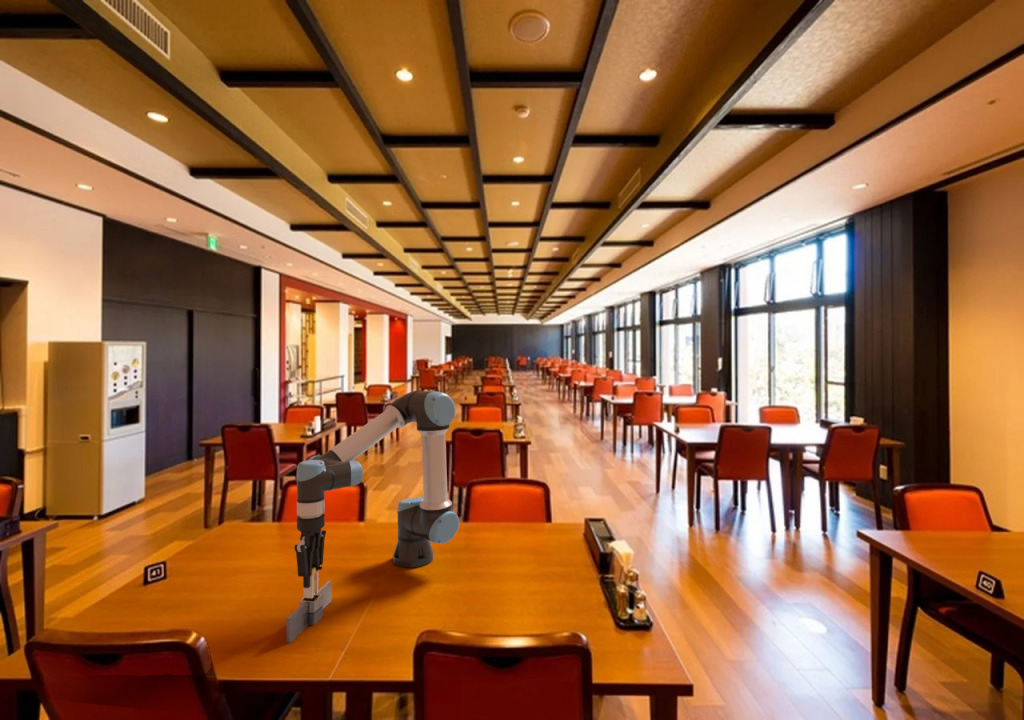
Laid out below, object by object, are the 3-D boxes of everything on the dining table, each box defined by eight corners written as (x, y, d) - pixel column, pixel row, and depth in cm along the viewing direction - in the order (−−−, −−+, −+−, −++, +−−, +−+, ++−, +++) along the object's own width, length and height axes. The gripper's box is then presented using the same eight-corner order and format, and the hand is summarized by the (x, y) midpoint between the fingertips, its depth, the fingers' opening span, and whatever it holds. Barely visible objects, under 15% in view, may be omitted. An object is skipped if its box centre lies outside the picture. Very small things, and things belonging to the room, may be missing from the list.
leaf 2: (308, 615, 145) (308, 593, 145) (322, 616, 145) (322, 594, 145) (280, 642, 132) (280, 617, 132) (296, 643, 131) (296, 619, 131)
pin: (309, 603, 144) (309, 566, 144) (317, 604, 144) (317, 566, 144) (304, 608, 141) (304, 570, 142) (312, 608, 141) (312, 570, 141)
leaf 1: (323, 600, 154) (323, 580, 154) (337, 601, 153) (336, 581, 153) (299, 623, 141) (299, 601, 141) (314, 624, 140) (314, 602, 140)
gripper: (312, 506, 151) (312, 582, 151) (283, 522, 136) (283, 607, 136) (335, 507, 150) (335, 584, 150) (308, 523, 135) (308, 609, 135)
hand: (310, 595), depth 143 cm, fingers closed on pin, 2 cm apart
